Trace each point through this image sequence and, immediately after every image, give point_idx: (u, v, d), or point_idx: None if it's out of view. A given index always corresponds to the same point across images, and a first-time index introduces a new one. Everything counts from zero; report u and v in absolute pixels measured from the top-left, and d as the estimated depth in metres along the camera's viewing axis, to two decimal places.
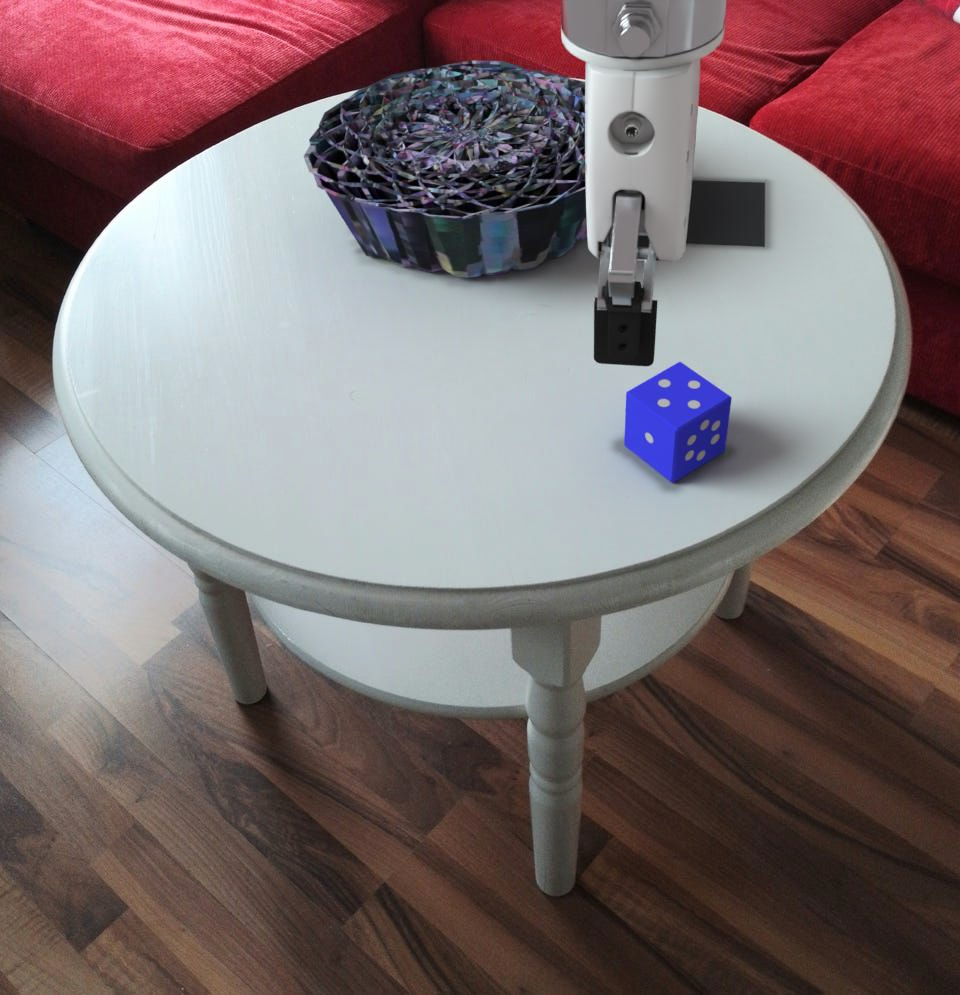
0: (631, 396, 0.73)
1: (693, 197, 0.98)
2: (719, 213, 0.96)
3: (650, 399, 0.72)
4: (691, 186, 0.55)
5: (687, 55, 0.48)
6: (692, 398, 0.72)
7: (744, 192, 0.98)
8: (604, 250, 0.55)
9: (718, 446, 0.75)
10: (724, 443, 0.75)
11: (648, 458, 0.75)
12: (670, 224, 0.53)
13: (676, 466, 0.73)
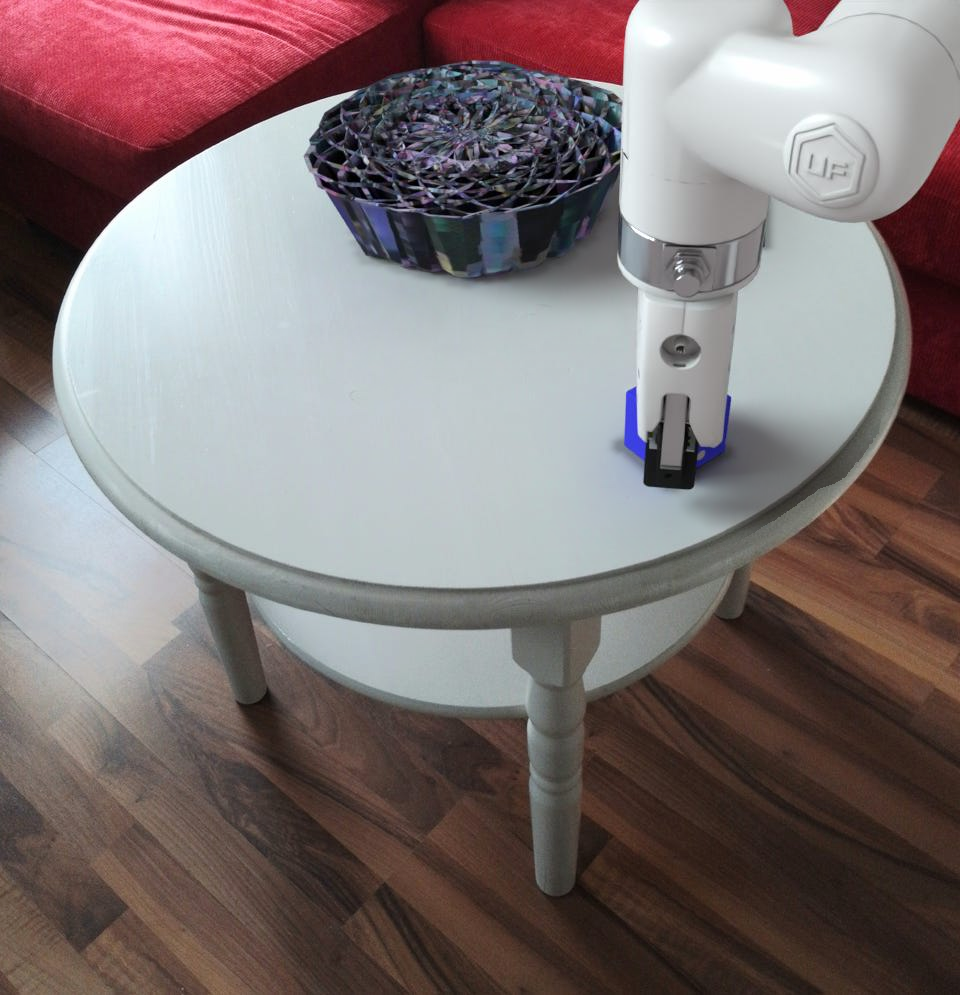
0: (631, 396, 0.73)
1: None
2: None
3: None
4: None
5: (730, 288, 0.56)
6: None
7: None
8: None
9: (718, 445, 0.75)
10: (724, 443, 0.75)
11: None
12: (712, 420, 0.60)
13: None
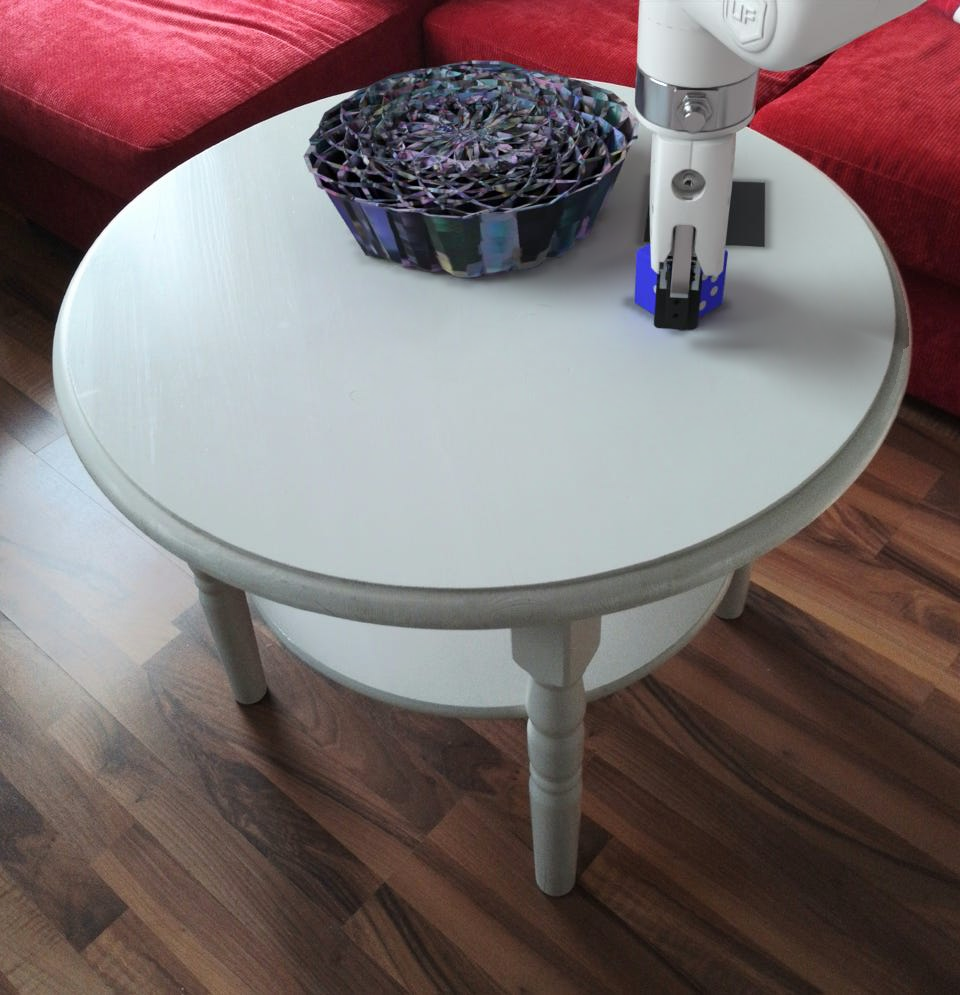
0: (641, 253, 0.84)
1: None
2: None
3: None
4: None
5: (730, 129, 0.67)
6: None
7: (744, 192, 0.98)
8: (664, 262, 0.76)
9: (716, 298, 0.86)
10: (721, 296, 0.86)
11: None
12: (714, 249, 0.71)
13: None
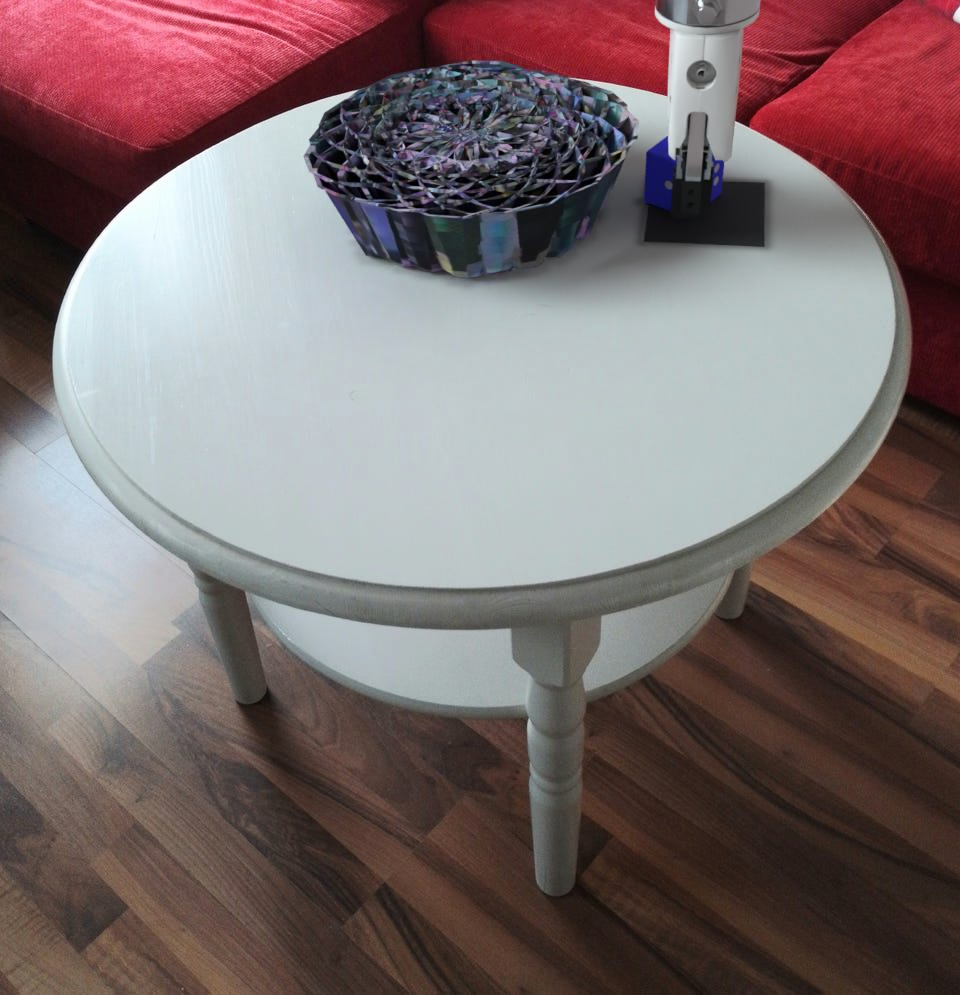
0: (651, 153, 0.94)
1: None
2: (719, 213, 0.96)
3: (666, 153, 0.93)
4: None
5: (737, 24, 0.77)
6: None
7: (744, 192, 0.98)
8: (679, 152, 0.86)
9: (717, 188, 0.96)
10: (721, 186, 0.97)
11: (668, 204, 0.96)
12: (724, 135, 0.81)
13: None
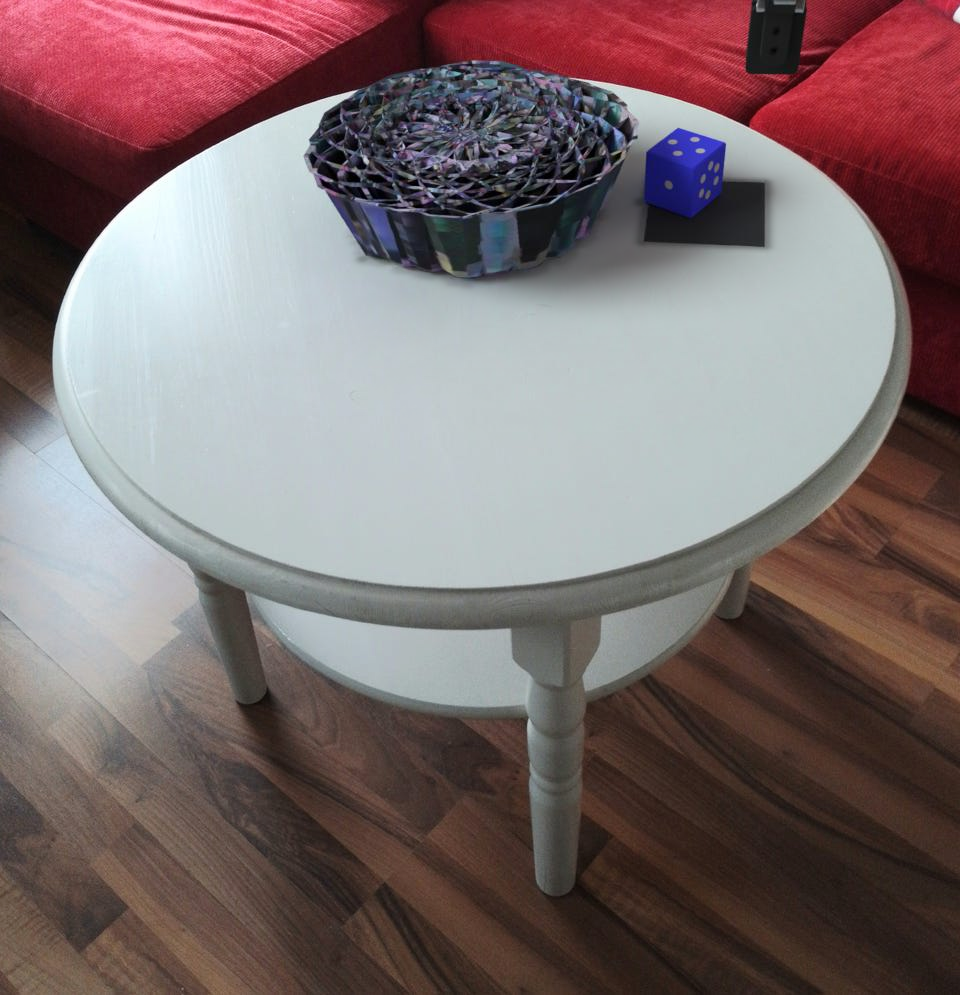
0: (651, 153, 0.94)
1: None
2: (719, 213, 0.96)
3: (666, 152, 0.93)
4: None
5: None
6: (697, 147, 0.94)
7: (744, 192, 0.98)
8: None
9: (717, 187, 0.96)
10: (721, 186, 0.97)
11: (668, 204, 0.96)
12: None
13: (693, 202, 0.94)
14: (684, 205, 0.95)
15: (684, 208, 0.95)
